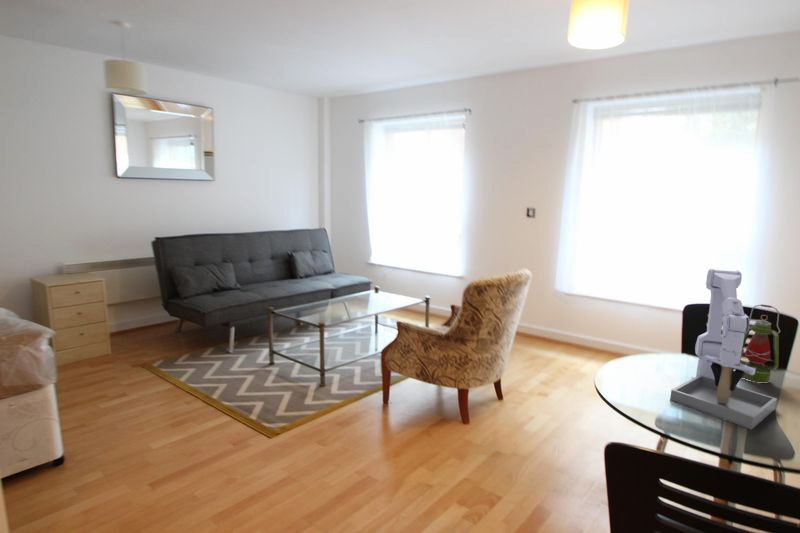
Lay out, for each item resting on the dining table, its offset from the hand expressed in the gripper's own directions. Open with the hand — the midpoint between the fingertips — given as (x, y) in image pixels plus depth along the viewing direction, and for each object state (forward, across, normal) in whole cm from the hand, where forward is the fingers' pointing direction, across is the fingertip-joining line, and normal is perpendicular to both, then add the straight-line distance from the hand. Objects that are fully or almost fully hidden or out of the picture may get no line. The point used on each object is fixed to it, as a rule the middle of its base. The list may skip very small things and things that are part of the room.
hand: (724, 387), depth 164 cm
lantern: (+7, -2, +39) cm, 40 cm away
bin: (+6, 0, 0) cm, 6 cm away
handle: (+6, 0, 0) cm, 6 cm away
